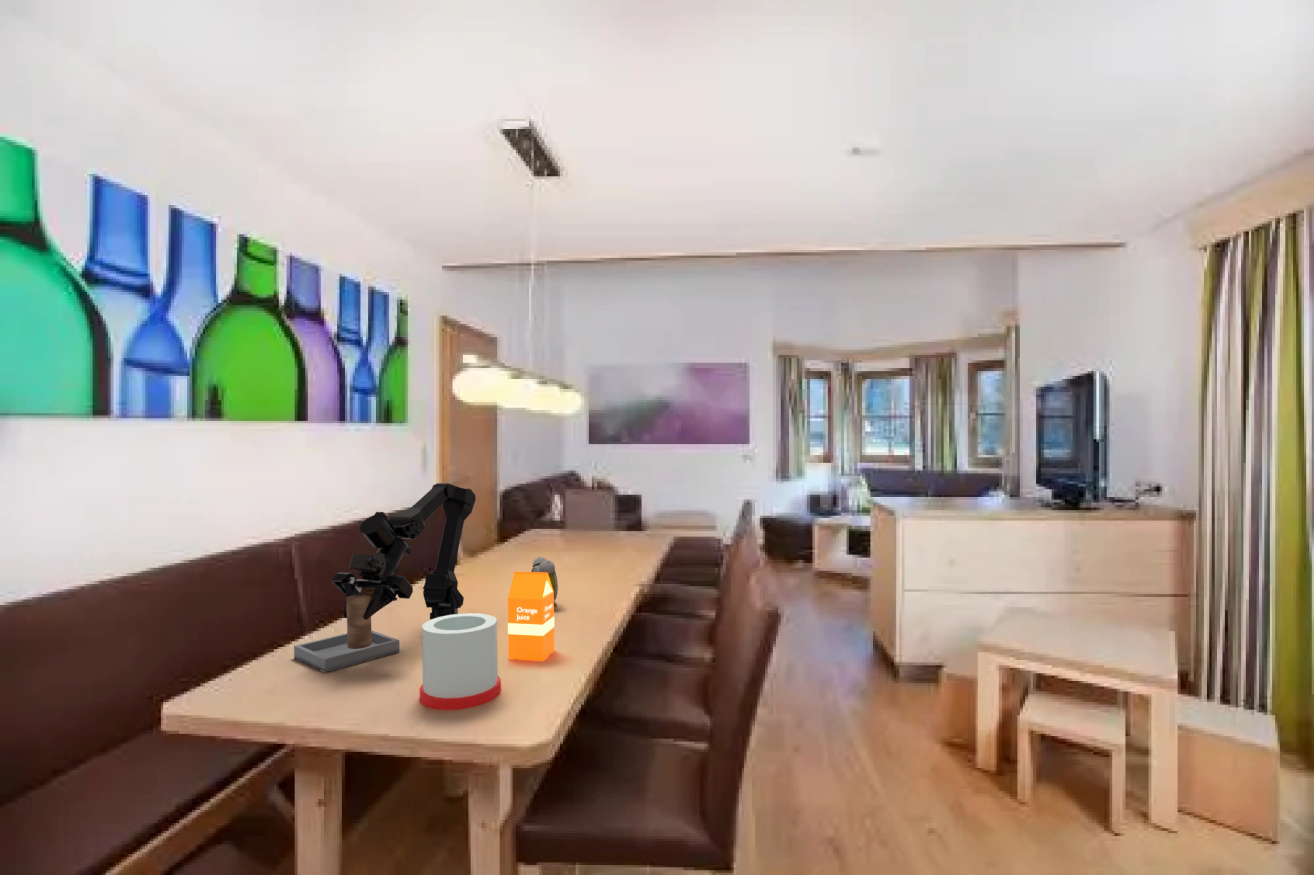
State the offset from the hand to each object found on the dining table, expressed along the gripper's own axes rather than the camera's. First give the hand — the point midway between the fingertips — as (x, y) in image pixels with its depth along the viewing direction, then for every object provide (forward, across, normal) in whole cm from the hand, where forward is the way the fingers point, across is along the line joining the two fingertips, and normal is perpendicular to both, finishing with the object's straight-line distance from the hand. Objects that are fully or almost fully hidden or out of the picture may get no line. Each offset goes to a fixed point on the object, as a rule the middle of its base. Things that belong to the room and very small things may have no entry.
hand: (354, 617), depth 151 cm
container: (+12, +30, +6) cm, 33 cm away
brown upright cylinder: (+4, 0, +6) cm, 7 cm away
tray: (+2, -11, +16) cm, 19 cm away
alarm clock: (-35, +17, +53) cm, 66 cm away
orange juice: (-6, +33, +24) cm, 41 cm away
